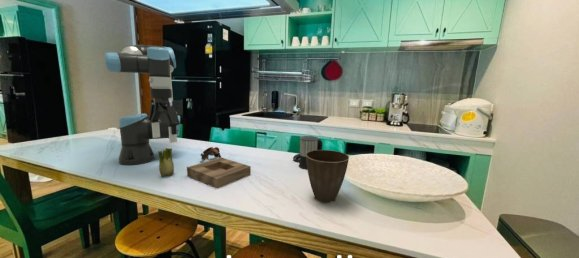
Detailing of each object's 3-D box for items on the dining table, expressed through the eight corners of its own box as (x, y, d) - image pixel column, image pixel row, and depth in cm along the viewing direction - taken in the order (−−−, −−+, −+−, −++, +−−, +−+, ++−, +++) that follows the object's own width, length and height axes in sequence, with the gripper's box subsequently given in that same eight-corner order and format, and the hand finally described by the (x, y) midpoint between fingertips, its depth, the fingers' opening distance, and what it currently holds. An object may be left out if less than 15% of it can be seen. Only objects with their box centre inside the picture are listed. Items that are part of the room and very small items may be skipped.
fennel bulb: (160, 179, 96) (158, 151, 93) (158, 175, 99) (156, 148, 97) (175, 176, 99) (173, 149, 97) (173, 172, 103) (171, 146, 101)
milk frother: (312, 171, 109) (313, 140, 107) (283, 164, 117) (284, 136, 114) (323, 163, 121) (325, 135, 119) (297, 157, 129) (298, 131, 126)
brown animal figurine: (220, 165, 115) (210, 152, 113) (204, 171, 118) (195, 158, 115) (227, 152, 126) (219, 140, 123) (213, 158, 129) (205, 146, 126)
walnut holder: (187, 175, 99) (186, 167, 99) (221, 165, 114) (221, 157, 113) (217, 188, 88) (216, 178, 87) (250, 174, 103) (250, 166, 102)
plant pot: (295, 198, 82) (297, 155, 79) (318, 185, 94) (320, 147, 91) (332, 213, 73) (335, 165, 70) (352, 197, 84) (356, 155, 81)
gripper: (136, 87, 96) (141, 137, 100) (167, 88, 82) (171, 146, 86) (155, 87, 102) (158, 134, 106) (187, 88, 88) (190, 142, 92)
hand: (164, 139), depth 96 cm, fingers open, 13 cm apart
